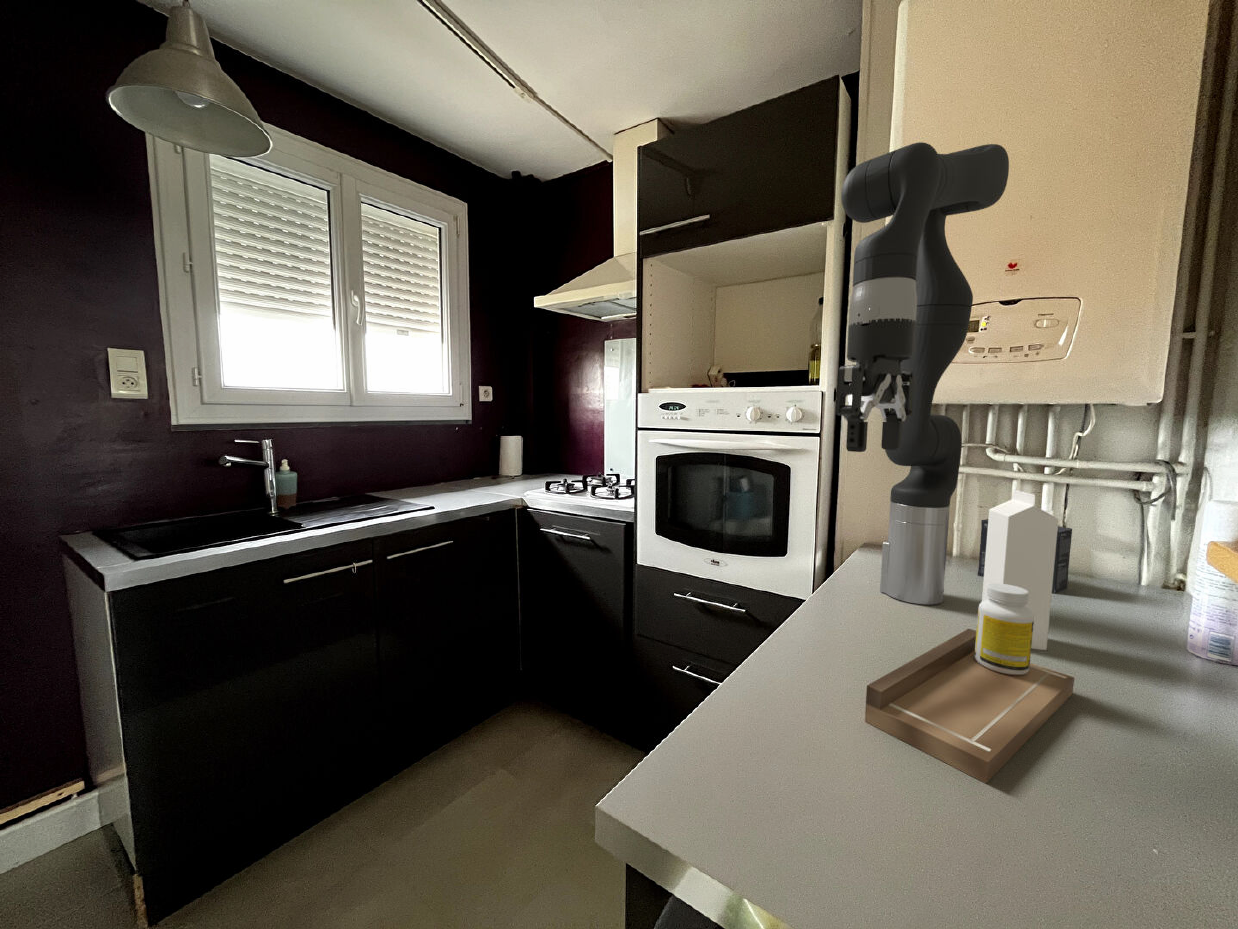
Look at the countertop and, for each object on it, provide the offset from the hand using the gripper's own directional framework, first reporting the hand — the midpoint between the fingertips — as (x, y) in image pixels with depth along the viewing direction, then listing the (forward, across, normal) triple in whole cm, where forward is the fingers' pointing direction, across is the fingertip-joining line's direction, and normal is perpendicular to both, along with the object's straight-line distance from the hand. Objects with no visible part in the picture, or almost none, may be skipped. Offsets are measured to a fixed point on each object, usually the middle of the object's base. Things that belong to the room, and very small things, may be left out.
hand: (873, 450), depth 64 cm
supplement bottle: (+26, -9, +12) cm, 31 cm away
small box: (+28, -60, 0) cm, 66 cm away
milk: (+28, -25, +9) cm, 39 cm away
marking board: (+28, 0, +13) cm, 31 cm away
